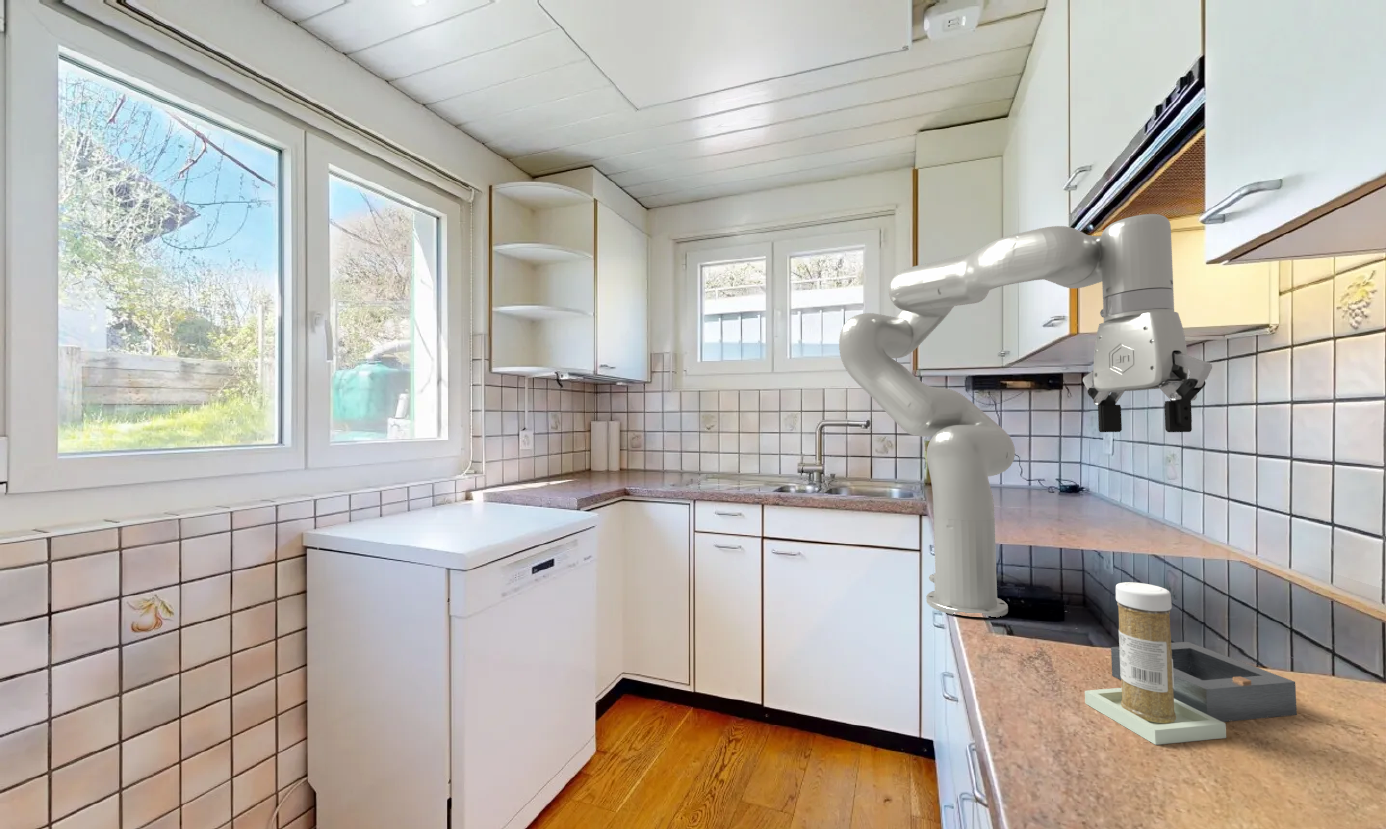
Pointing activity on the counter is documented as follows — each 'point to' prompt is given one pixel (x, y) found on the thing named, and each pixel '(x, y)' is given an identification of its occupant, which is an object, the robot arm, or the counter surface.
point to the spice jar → (1146, 651)
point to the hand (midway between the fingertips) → (1142, 432)
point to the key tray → (1183, 729)
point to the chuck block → (1224, 685)
